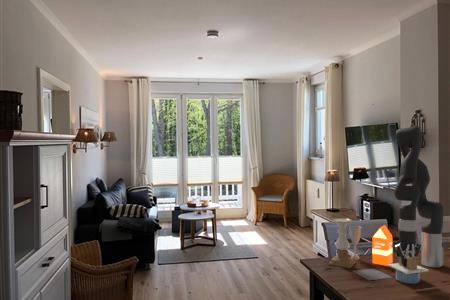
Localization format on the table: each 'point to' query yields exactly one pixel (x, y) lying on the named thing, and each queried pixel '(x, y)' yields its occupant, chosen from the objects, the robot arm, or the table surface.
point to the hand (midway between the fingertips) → (407, 265)
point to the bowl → (408, 277)
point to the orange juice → (382, 247)
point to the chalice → (355, 238)
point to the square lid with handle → (408, 266)
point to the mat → (372, 274)
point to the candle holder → (342, 245)
